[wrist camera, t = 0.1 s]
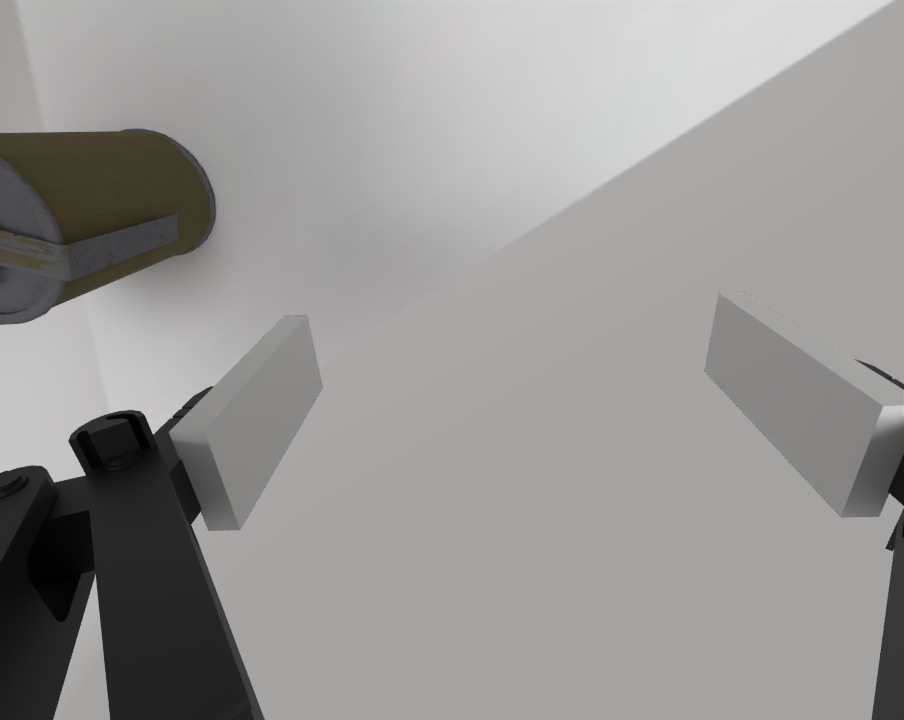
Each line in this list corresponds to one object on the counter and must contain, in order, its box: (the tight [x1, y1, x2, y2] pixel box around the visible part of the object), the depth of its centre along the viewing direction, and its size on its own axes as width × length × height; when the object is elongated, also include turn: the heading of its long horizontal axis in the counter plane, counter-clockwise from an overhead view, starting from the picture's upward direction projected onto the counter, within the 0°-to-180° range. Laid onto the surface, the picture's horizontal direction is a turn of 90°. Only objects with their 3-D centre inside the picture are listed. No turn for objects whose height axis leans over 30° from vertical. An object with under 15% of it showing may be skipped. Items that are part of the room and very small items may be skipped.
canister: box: [0, 129, 215, 325], centre depth 32 cm, size 11×10×20 cm
